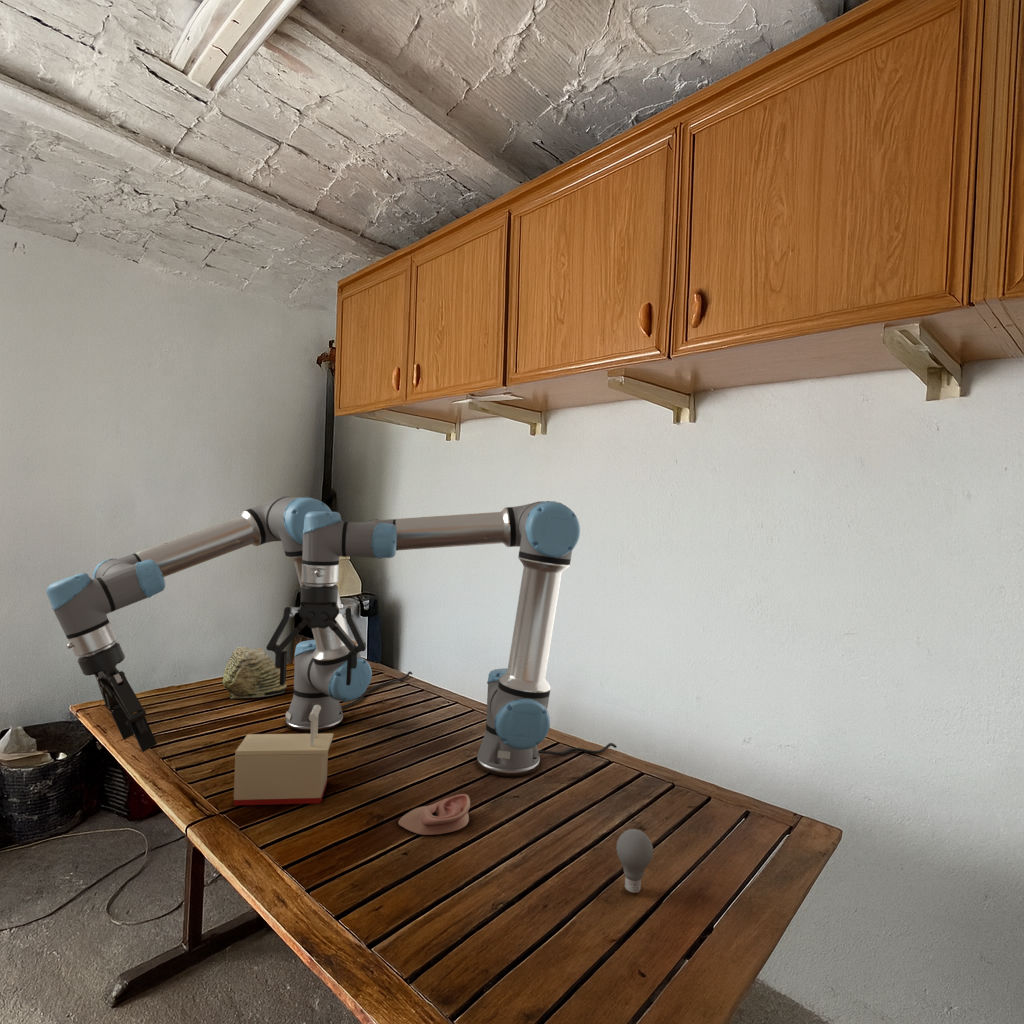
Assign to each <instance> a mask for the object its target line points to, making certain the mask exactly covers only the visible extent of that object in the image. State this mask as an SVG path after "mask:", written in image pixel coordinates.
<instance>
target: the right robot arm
mask: <svg viewBox="0 0 1024 1024" xmlns="http://www.w3.org/2000/svg"><path fill="white" fill-rule="evenodd" d="M580 536H581V525H580V521H579V518H578V517H577V515H576V514H575V512H574V511H573V510H572V509H571V508H570V507H568V506H567V505H566V504H563V503H562V502H558V501H555V500H553V501H552V500H546V501H545V500H544V501H543V500H542V501H541V500H540V501H535V502H532V503H527V504H522V505H517V506H507V507H506V506H505V507H504V508H503V509H502V510H501V511H495V512H494V511H492V512H479V513H465V514H464V513H463V514H462V513H461V514H450V515H433V516H420V517H404V518H403V517H402V518H395V519H394V518H389V519H368V520H367V521H364V522H363V521H361V522H360V521H354V522H353V521H345V520H342V516H341V514H340V512H338V511H332V512H324V511H311V512H308V513H307V514H306V515H305V520H304V530H303V555H302V578H301V581H302V582H303V583H304V585H302V586H300V605H299V606H293V605H291V604H288V605H287V606H285V607H284V608H283V609H284V610H283V614H282V615H283V616H282V619H281V620H280V622H279V624H278V626H277V627H276V629H275V631H274V633H273V634H272V636H271V638H270V639H269V642H268V643H267V645H266V646H265V647H266V650H267V651H269V652H273V653H274V654H275V657H274V658H275V659H274V663H275V667H276V668H278V669H279V670H280V685H284V683H285V682H286V683H287V665H288V664H287V662H288V651H287V650H285V649H286V647H287V646H288V645H289V644H290V643H291V642H292V641H293V640H294V639H295V638H296V637H297V636H298V635H299V634H300V632H302V631H303V629H304V628H305V627H307V628H309V629H312V628H321V629H325V628H327V627H328V626H329V627H330V629H331V630H332V631H334V632H335V634H336V635H337V636H338V637H339V638H340V640H341V641H342V642H343V643H344V645H345V646H346V647H347V648H348V649H349V651H350V652H348V655H347V680H346V685H350V684H351V675H352V669H355V668H356V666H357V655H358V653H359V652H360V653H361V652H365V651H366V650H367V643H366V641H365V639H364V636H363V634H362V632H361V630H360V629H359V626H358V624H357V622H356V620H355V618H354V612H353V607H352V606H351V605H349V606H347V607H342V608H339V607H338V605H337V600H338V592H339V586H338V585H335V583H336V584H337V583H338V582H339V574H340V573H339V572H340V557H342V558H347V557H349V558H350V557H351V558H367V559H369V558H370V559H371V558H372V559H378V560H379V559H380V560H381V559H393V558H394V557H395V556H396V554H397V551H410V550H425V549H426V550H427V549H438V548H439V549H440V548H441V549H442V548H454V547H469V546H483V545H484V546H485V545H496V544H497V545H498V544H503V545H504V546H505V547H507V548H515V547H517V548H518V547H519V551H518V556H517V559H518V560H519V561H520V563H521V564H522V566H523V569H522V574H521V575H522V576H521V582H520V588H519V593H518V594H519V595H518V599H517V600H518V601H517V607H516V614H515V620H514V625H513V633H512V637H511V638H512V639H511V645H510V652H509V658H508V664H507V668H505V667H504V668H495V669H492V670H490V671H489V673H488V677H487V682H486V684H487V695H486V696H487V697H486V718H485V719H486V720H485V732H484V735H483V737H482V741H481V743H480V746H479V747H478V748H479V749H478V752H477V754H476V764H477V766H478V767H479V769H481V770H482V771H484V772H485V773H488V774H491V775H495V776H498V777H499V776H500V777H511V778H512V777H513V778H514V777H523V776H527V775H529V774H533V773H534V772H536V771H537V770H538V769H539V768H540V763H541V762H540V761H541V759H540V758H541V757H540V754H543V755H544V754H545V755H552V756H553V755H554V756H563V755H567V754H568V753H571V752H583V753H587V754H593V755H594V754H595V755H598V754H602V753H604V752H606V751H607V750H608V749H609V748H610V747H613V749H616V748H618V747H617V744H615V743H613V742H609V743H608V744H606V745H605V746H604V747H603V748H601V749H599V750H592V749H586V748H582V747H570V748H568V749H566V750H563V751H552V750H543V749H541V750H540V749H538V746H539V745H540V744H541V743H542V742H543V741H545V739H546V737H547V736H548V734H549V732H550V727H551V720H550V719H551V717H550V713H549V711H548V708H549V702H550V694H551V685H550V683H549V682H548V680H547V679H546V677H547V676H546V675H547V669H548V664H549V658H550V657H549V656H550V652H551V651H550V650H551V649H550V648H551V645H552V638H553V631H554V625H555V619H556V611H557V607H558V606H557V605H558V600H559V594H560V593H559V592H560V587H561V579H562V574H563V572H564V571H565V570H567V569H568V568H569V567H570V566H571V560H572V555H573V551H574V549H575V548H576V546H577V545H578V543H579V540H580ZM296 614H297V615H298V616H299V618H300V619H301V622H299V624H297V625H296V627H294V629H293V630H292V631H291V632H290V633H289V634H288V635H287V637H286V638H285V639H284V640H283V641H282V642H281V643H280V644H277V643H278V641H279V639H280V638H281V636H282V635H283V632H284V631H285V628H286V627H287V625H288V623H289V622H290V621H291V620H290V619H291V618H293V617H295V615H296ZM338 614H342V616H343V618H345V620H346V624H347V626H348V628H349V630H350V631H351V633H352V636H353V639H354V640H355V641H356V642H357V644H358V646H356V645H355V644H354V642H353V641H352V640H351V639H352V638H351V637H350V635H349V636H348V635H347V634H346V633H345V631H344V630H343V629H342V628H341V627H340V625H339V623H338V622H337V621H336V620H335V618H336V617H337V616H338ZM349 637H350V638H351V639H350V638H349Z"/></svg>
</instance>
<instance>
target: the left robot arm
mask: <svg viewBox="0 0 1024 1024" xmlns="http://www.w3.org/2000/svg"><path fill="white" fill-rule="evenodd" d="M311 511H324V512H333V511H332V510H331V508H330V507H329V505H327V504H326V503H324V501H322V500H319V499H316V498H313V497H309V496H281V497H275V498H273V499H271V500H268V501H265V502H263V503H261V504H258V505H256V506H252V507H250V508H247V509H245V510H243V511H241V513H240V515H239V516H237V517H234V518H232V519H229V520H225V521H222V522H220V523H217V524H214V525H211V526H208V527H205V528H202V529H199V530H197V531H194V532H191V533H188V534H186V535H183V536H179V537H176V538H174V539H171V540H168V541H164V542H162V543H159V544H156V545H154V546H150V547H148V548H145V549H142V550H139V551H137V552H134V553H131V554H128V555H125V556H122V557H119V558H108V559H106V560H103V561H100V562H99V563H98V564H97V565H96V566H95V567H94V569H93V572H92V578H91V577H90V576H89V574H88V573H87V572H81V573H80V572H79V573H77V574H74V575H71V576H67V577H65V578H62V579H60V580H57V581H54V582H53V583H50V584H49V585H48V586H47V587H46V595H47V596H48V600H49V602H50V605H51V609H52V610H53V612H54V614H55V617H56V619H57V621H58V623H59V625H60V627H61V629H62V631H63V633H64V635H65V637H66V639H67V641H68V642H69V643H67V644H66V648H67V649H68V650H71V651H72V652H73V654H74V656H75V657H78V658H77V664H78V665H79V668H80V670H81V673H82V674H83V675H84V676H94V677H95V679H96V682H97V684H98V687H99V691H100V694H101V696H102V700H103V702H104V706H105V707H106V708H107V709H108V711H110V714H111V715H112V718H113V721H114V723H115V725H116V727H117V730H118V731H119V733H120V736H121V738H122V740H124V741H125V740H126V739H128V738H130V737H132V736H134V737H135V740H136V742H137V744H138V745H139V748H140V750H141V752H142V753H144V752H146V751H148V750H149V749H151V748H153V747H155V746H156V745H158V743H157V741H156V738H155V736H154V733H153V731H152V729H151V727H150V725H149V722H148V721H147V718H146V715H147V711H146V710H145V709H144V706H143V705H142V703H141V701H140V700H139V698H138V696H137V695H136V693H135V691H134V690H133V688H132V686H131V685H130V682H129V681H128V679H127V677H126V674H125V672H124V671H123V670H119V669H118V668H117V667H116V666H117V665H118V664H121V663H122V662H123V661H124V660H125V658H126V655H125V653H124V651H123V649H122V647H121V644H120V643H119V642H118V641H117V640H118V637H117V634H116V632H115V630H114V627H113V626H112V624H111V621H110V620H109V618H108V614H110V613H112V612H115V611H118V610H120V609H123V608H125V607H127V606H130V605H133V604H135V603H138V602H140V601H143V600H146V599H149V598H152V597H153V596H155V595H157V594H159V593H161V592H163V591H164V590H165V589H166V580H165V578H166V577H168V576H171V575H173V574H177V573H180V572H182V571H184V570H187V569H190V568H192V567H194V566H197V565H201V564H202V563H203V564H204V563H205V562H208V561H211V560H213V559H216V558H219V557H221V556H224V555H227V554H229V553H231V552H235V551H237V550H240V549H243V548H245V547H249V546H250V545H252V546H255V547H259V546H261V545H264V544H268V543H272V542H281V543H282V548H283V551H284V555H285V557H286V558H287V559H289V560H291V561H292V562H293V563H294V567H295V570H296V571H295V572H296V575H297V579H298V582H299V586H300V587H301V586H302V585H304V583H303V582H302V581H301V578H302V555H303V530H304V520H305V515H306V514H307V513H308V512H311ZM335 585H337V583H335ZM337 586H338V585H337ZM337 605H338V607H339V608H343V605H342V601H341V598H340V592H339V591H338V600H337ZM335 620H336V621H337V622H338V623H339V625H340V627H341V628H342V629H343V630H344V631H345V633H346V634H347V635H348V636H349V638H350V639H351V640H352V641H353V642H354V644H355V645H356V646H358V644H357V642H356V640H355V639H354V638H351V637H350V633H349V629H348V624H347V620H346V618H343V616H342V614H338V616H337V617H336V618H335ZM311 632H312V635H313V639H308V640H303V641H300V642H297V644H296V646H295V650H294V655H293V657H294V672H293V695H292V696H293V697H292V699H291V702H290V704H289V708H288V710H286V712H285V726H286V728H287V729H289V730H291V731H294V732H295V731H296V732H301V733H311V721H310V720H309V715H310V713H311V711H312V709H313V707H314V706H315V705H320V706H321V710H320V712H319V715H318V732H325V731H329V730H332V729H335V728H337V727H339V726H340V725H342V723H343V722H344V714H343V709H345V708H347V707H348V708H349V707H350V706H353V705H354V704H356V703H359V702H360V701H361V700H362V699H363V698H364V697H365V696H366V695H367V694H369V693H370V692H372V691H373V690H376V689H377V688H380V687H382V686H385V685H388V684H391V683H395V682H399V681H402V680H405V679H407V678H408V677H409V676H410V675H413V672H412V671H408V672H407V674H406V675H405V676H402V677H399V678H395V679H391V680H388V681H385V682H382V683H379V684H377V685H375V686H372V687H371V688H369V689H368V687H369V686H370V684H371V681H372V677H373V673H372V672H373V671H372V667H371V665H370V663H369V662H368V661H367V660H366V659H365V658H363V657H362V655H361V652H359V653H358V655H357V666H356V668H355V669H352V675H351V684H350V685H346V680H347V655H348V652H350V651H349V649H348V648H347V647H346V646H345V645H344V643H343V642H342V641H341V640H340V638H339V637H338V636H337V635H336V634H335V632H334V631H332V630H331V629H330V627H329V626H328V627H327V628H325V629H321V628H311ZM341 702H343V703H346V704H344V705H341ZM347 702H349V703H347Z"/></svg>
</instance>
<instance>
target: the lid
mask: <svg viewBox="0 0 1024 1024" xmlns="http://www.w3.org/2000/svg"><path fill="white" fill-rule="evenodd" d="M320 710H321V706H320V705H315V706H314V707H313V709H312V711H311V713H310V715H309V720H310V721H311V732H310V733H253V734H252V733H249V734H247V735H245V737H244V738H243V739H242V741H241V743H240V744H239V745H238V747H237V748H236V750H234V751H235V753H234V754H235V755H283V754H327V753H328V754H329V750H330V747H331V745H332V742H333V738H334V733H332V732H331V733H319V731H318V715H319V712H320Z"/></svg>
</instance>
